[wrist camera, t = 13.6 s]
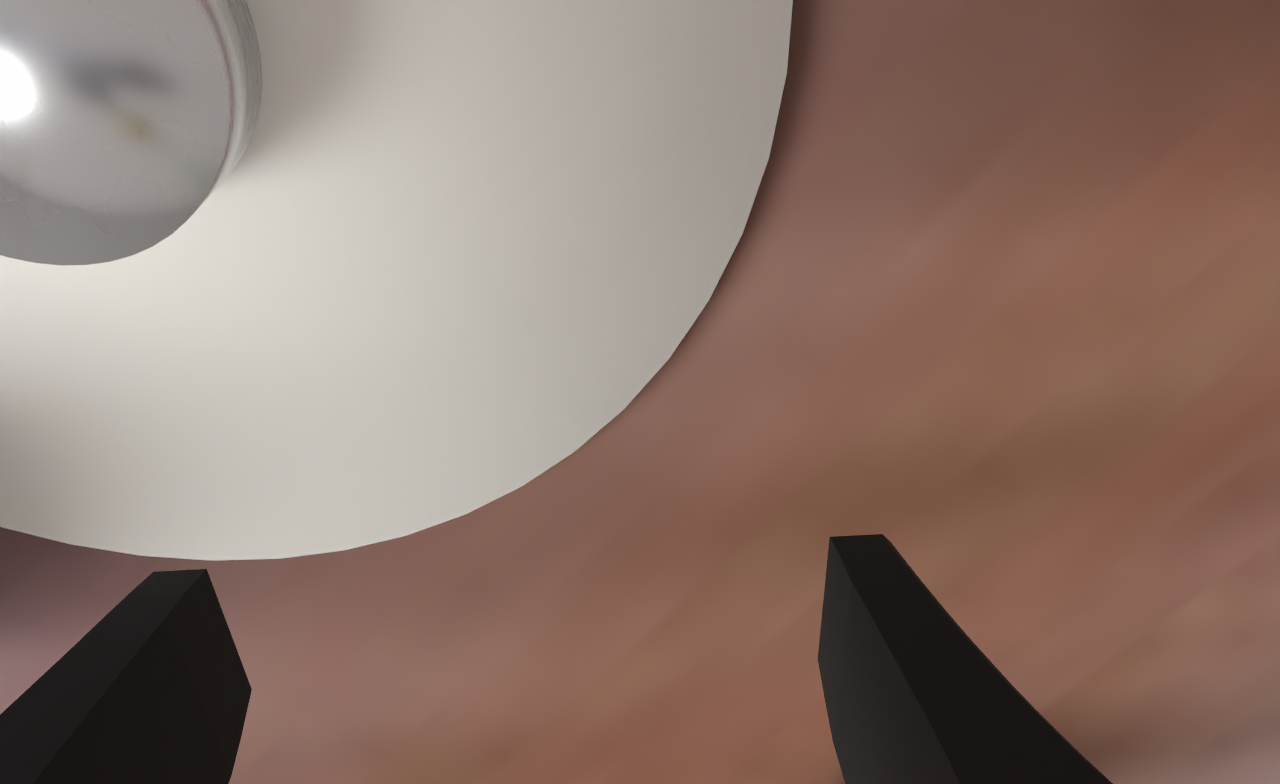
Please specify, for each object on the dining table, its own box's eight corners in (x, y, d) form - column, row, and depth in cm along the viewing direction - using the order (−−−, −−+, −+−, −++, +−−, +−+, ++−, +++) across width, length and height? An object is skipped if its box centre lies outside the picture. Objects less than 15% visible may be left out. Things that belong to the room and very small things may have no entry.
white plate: (-1393, -822, 12) (-1549, -868, 11) (646, -1497, 10) (652, -1617, 9) (-114, 620, 25) (-138, 649, 24) (843, 447, 23) (853, 472, 22)
